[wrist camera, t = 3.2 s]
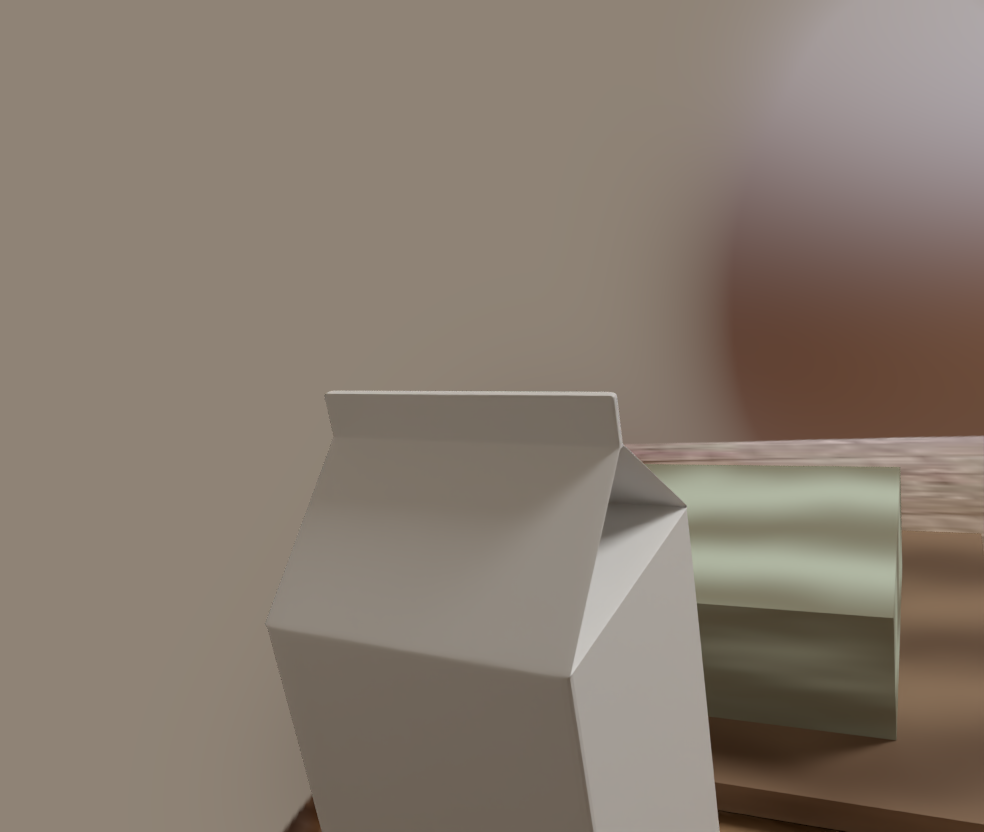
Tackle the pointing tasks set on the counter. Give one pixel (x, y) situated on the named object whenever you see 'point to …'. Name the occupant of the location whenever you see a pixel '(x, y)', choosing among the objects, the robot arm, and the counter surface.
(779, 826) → the counter surface
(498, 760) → the milk carton
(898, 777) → the tower base
